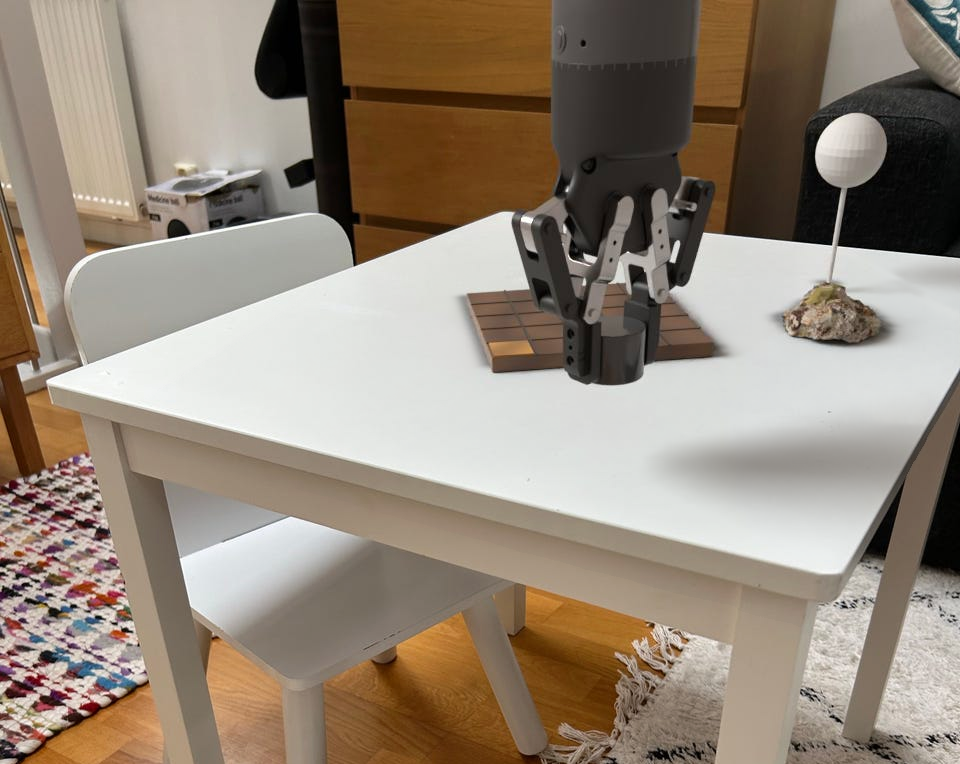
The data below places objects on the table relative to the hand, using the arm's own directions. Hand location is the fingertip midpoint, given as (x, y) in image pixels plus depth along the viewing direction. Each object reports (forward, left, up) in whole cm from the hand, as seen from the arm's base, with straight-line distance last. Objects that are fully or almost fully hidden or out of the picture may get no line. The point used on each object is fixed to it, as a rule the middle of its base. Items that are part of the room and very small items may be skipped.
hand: (611, 369), depth 61 cm
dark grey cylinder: (0, 0, 0) cm, 0 cm away
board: (-4, -27, -6) cm, 28 cm away
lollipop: (-29, -33, -6) cm, 44 cm away
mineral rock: (-25, -23, -6) cm, 34 cm away
